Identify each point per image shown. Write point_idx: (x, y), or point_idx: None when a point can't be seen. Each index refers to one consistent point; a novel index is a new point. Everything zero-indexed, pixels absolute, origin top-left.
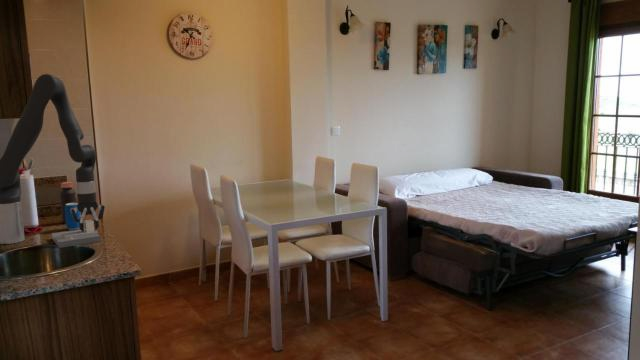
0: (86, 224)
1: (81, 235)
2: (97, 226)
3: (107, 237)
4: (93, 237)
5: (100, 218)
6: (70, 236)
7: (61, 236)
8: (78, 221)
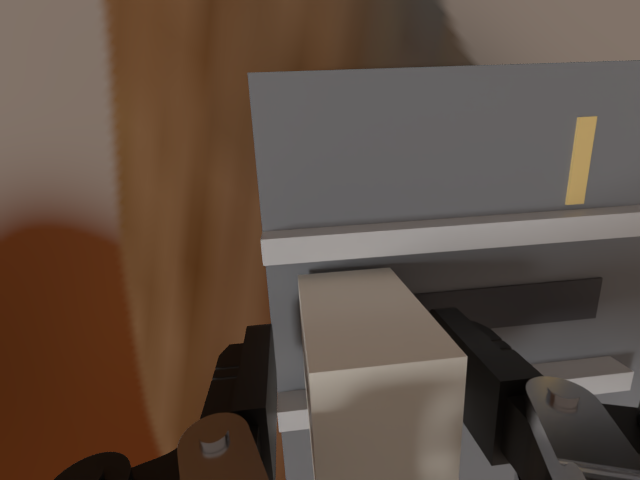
0: (439, 329)
1: (462, 220)
2: (237, 356)
3: (158, 237)
4: (340, 71)
5: (120, 464)
6: (592, 213)
7: (625, 328)
8: (614, 416)
